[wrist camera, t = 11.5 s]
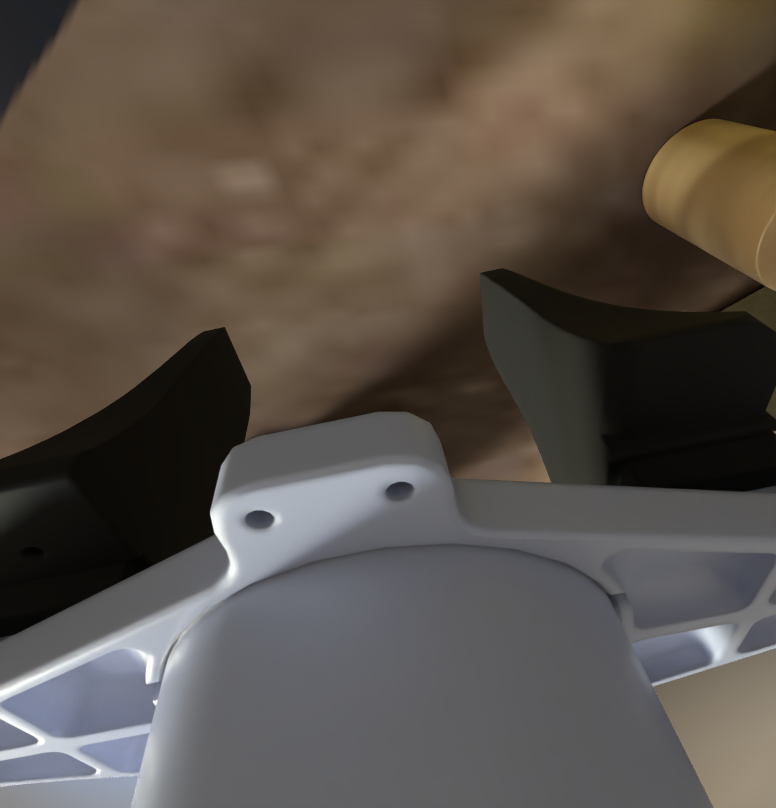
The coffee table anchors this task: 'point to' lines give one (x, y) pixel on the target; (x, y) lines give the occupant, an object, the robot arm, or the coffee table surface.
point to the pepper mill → (719, 193)
